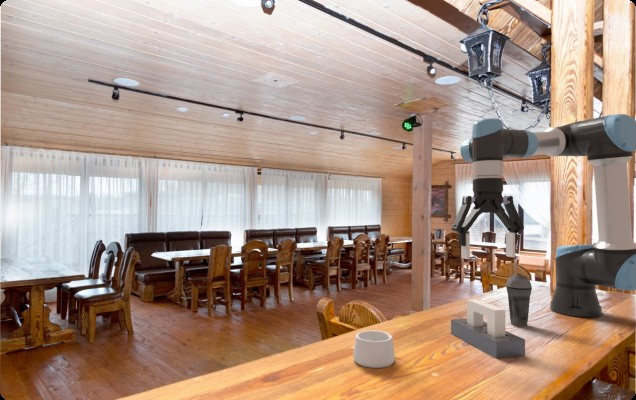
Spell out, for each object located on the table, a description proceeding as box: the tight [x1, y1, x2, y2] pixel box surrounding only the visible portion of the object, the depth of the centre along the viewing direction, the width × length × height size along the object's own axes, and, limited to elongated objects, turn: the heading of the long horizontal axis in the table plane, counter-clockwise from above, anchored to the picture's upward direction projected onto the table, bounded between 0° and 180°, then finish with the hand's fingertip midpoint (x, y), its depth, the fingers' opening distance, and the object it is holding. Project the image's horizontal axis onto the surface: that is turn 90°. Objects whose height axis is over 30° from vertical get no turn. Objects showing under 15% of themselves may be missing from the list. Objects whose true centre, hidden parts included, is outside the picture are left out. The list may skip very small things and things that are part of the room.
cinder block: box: [450, 317, 526, 360], centre depth 110 cm, size 8×20×4 cm, turn 13°
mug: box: [352, 329, 395, 369], centre depth 99 cm, size 12×10×6 cm
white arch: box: [466, 298, 506, 337], centre depth 110 cm, size 12×3×10 cm, turn 13°
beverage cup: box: [505, 258, 533, 328], centre depth 127 cm, size 7×7×20 cm
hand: (488, 257), depth 110 cm, fingers open, 13 cm apart
